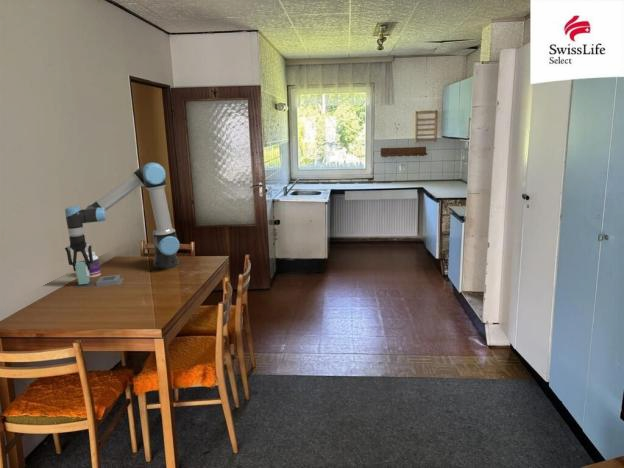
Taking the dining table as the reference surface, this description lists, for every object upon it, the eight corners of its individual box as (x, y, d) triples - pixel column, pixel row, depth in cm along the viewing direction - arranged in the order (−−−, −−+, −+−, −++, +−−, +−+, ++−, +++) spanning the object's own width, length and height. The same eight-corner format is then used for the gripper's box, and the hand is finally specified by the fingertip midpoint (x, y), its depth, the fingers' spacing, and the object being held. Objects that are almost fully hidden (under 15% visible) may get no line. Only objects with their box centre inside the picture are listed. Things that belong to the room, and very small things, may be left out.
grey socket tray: (123, 279, 269) (123, 274, 268) (120, 285, 258) (119, 280, 257) (97, 282, 266) (97, 276, 265) (93, 288, 255) (92, 282, 255)
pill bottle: (103, 274, 281) (100, 250, 277) (96, 278, 273) (92, 254, 270) (90, 274, 281) (87, 251, 278) (83, 278, 274) (79, 254, 270)
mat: (95, 282, 266) (95, 281, 266) (91, 287, 257) (91, 286, 257) (78, 283, 264) (77, 282, 264) (73, 288, 255) (73, 287, 255)
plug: (89, 281, 263) (86, 260, 260) (87, 283, 259) (84, 262, 256) (81, 282, 262) (77, 261, 259) (78, 284, 258) (75, 263, 255)
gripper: (95, 232, 260) (101, 272, 265) (61, 235, 256) (68, 275, 261) (92, 234, 253) (98, 276, 258) (57, 238, 249) (64, 279, 254)
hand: (83, 275), depth 259 cm, fingers closed on plug, 4 cm apart
